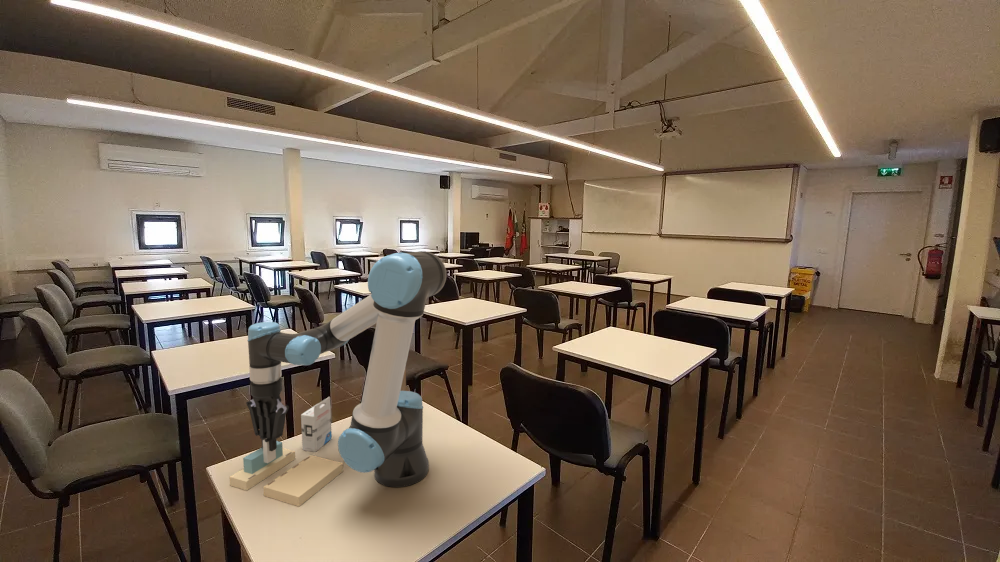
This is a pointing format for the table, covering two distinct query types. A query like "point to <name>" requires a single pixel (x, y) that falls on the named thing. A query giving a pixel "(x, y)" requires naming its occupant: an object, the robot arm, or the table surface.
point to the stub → (260, 467)
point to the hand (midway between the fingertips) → (269, 460)
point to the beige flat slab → (303, 480)
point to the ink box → (316, 426)
